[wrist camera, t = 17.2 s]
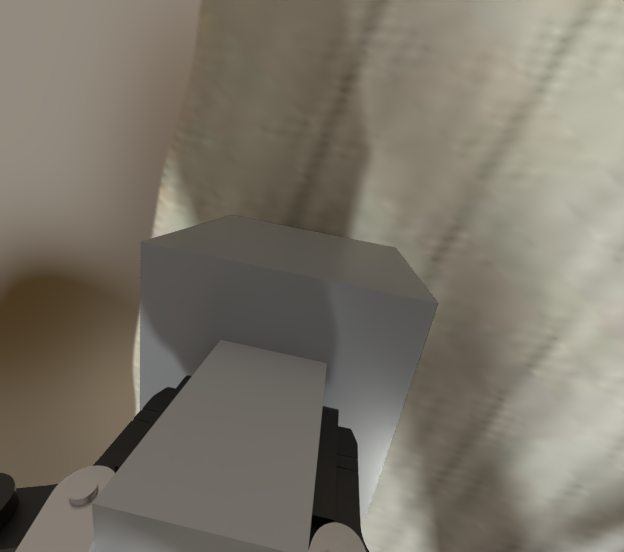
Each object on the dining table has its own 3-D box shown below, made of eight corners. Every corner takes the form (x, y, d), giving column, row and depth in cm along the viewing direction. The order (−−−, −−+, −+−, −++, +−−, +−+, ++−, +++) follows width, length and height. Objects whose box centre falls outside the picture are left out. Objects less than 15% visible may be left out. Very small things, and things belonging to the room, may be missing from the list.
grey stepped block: (395, 247, 18) (563, 466, 4) (357, 386, 21) (381, 777, 7) (231, 215, 19) (-109, 314, 5) (218, 355, 22) (-10, 668, 8)
